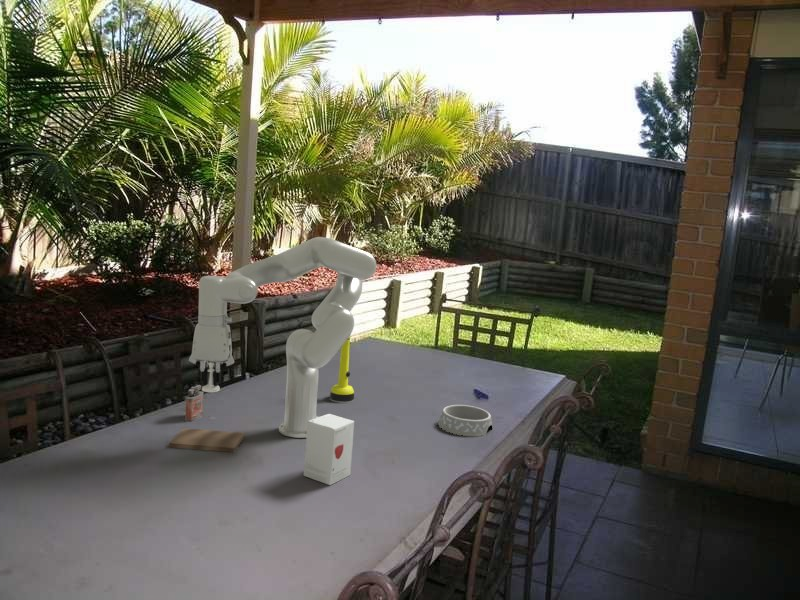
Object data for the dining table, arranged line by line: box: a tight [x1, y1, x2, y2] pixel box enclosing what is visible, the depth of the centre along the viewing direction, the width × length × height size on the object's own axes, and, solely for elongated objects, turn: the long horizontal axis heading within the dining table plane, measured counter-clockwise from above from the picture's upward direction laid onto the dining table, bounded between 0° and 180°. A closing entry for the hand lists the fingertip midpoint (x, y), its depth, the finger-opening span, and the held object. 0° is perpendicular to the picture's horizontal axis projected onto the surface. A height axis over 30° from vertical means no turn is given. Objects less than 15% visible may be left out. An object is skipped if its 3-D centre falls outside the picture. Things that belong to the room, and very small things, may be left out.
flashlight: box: [329, 335, 355, 404], centre depth 232 cm, size 25×9×9 cm
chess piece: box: [201, 361, 221, 393], centre depth 181 cm, size 5×5×10 cm
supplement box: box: [303, 413, 355, 486], centre depth 167 cm, size 9×9×15 cm
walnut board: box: [168, 427, 246, 453], centre depth 184 cm, size 18×12×1 cm, turn 90°
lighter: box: [184, 384, 204, 423], centre depth 202 cm, size 8×3×10 cm, turn 168°
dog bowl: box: [437, 404, 493, 437], centre depth 214 cm, size 17×18×5 cm
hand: (211, 384), depth 182 cm, fingers closed on chess piece
